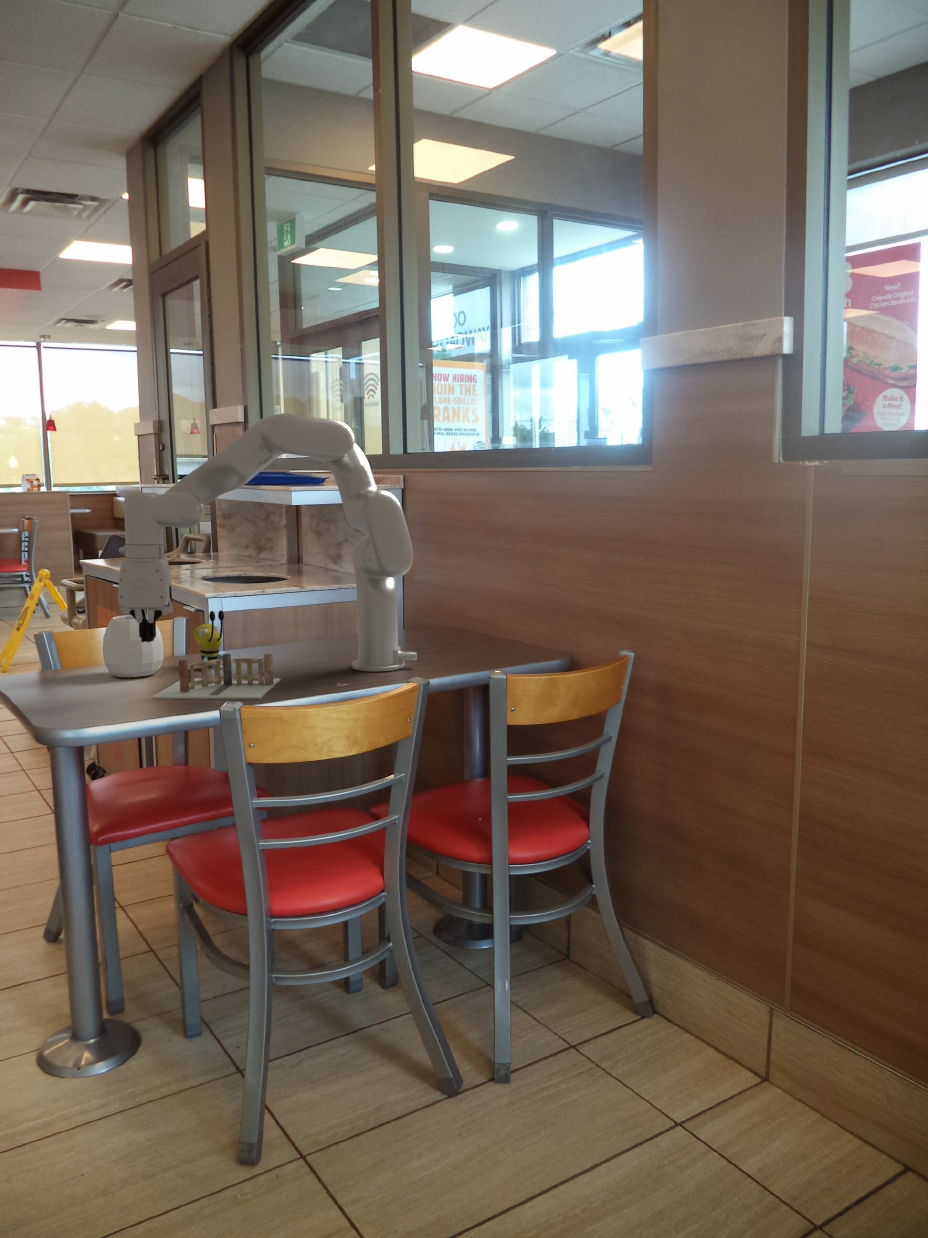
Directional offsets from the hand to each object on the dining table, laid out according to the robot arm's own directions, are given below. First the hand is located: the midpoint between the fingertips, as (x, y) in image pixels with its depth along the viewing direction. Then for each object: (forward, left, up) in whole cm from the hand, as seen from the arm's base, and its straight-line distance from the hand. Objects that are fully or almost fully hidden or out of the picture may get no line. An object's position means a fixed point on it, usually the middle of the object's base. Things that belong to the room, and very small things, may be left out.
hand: (147, 641), depth 201 cm
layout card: (-13, -4, -11) cm, 18 cm away
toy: (-4, -29, -11) cm, 32 cm away
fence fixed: (-19, -7, -11) cm, 23 cm away
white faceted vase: (+11, -19, -11) cm, 25 cm away
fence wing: (-10, -2, -10) cm, 15 cm away
